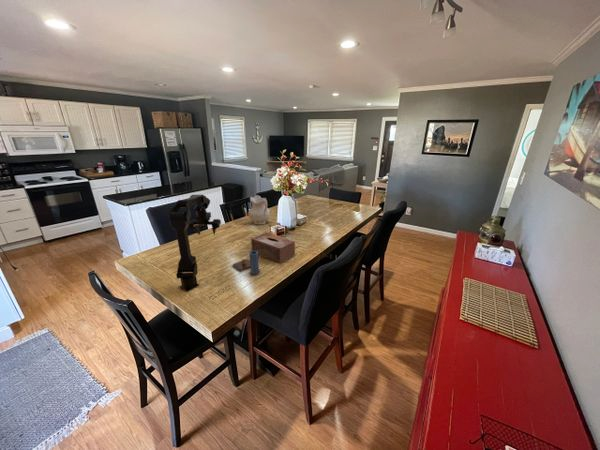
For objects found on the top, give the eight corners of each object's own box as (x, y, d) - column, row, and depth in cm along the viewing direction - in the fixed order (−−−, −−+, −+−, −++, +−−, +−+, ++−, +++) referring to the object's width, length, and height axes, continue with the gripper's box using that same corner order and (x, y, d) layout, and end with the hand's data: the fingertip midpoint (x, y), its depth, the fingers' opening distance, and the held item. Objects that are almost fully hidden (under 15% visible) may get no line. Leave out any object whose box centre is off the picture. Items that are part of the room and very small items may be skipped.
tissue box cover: (252, 251, 162) (251, 238, 159) (266, 244, 173) (266, 232, 170) (280, 263, 148) (280, 248, 145) (294, 254, 159) (294, 241, 156)
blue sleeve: (255, 275, 134) (253, 255, 130) (249, 273, 137) (247, 252, 132) (260, 272, 138) (259, 251, 134) (254, 269, 140) (253, 249, 136)
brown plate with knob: (240, 271, 138) (239, 265, 137) (232, 265, 145) (232, 259, 143) (255, 265, 145) (254, 259, 143) (247, 260, 151) (246, 254, 149)
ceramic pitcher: (276, 223, 221) (276, 196, 214) (262, 227, 205) (262, 199, 198) (258, 219, 232) (258, 193, 225) (244, 223, 216) (243, 196, 209)
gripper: (220, 206, 149) (224, 226, 158) (190, 206, 148) (196, 226, 157) (216, 216, 140) (220, 237, 149) (183, 216, 139) (190, 237, 148)
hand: (207, 234), depth 151 cm, fingers open, 9 cm apart
